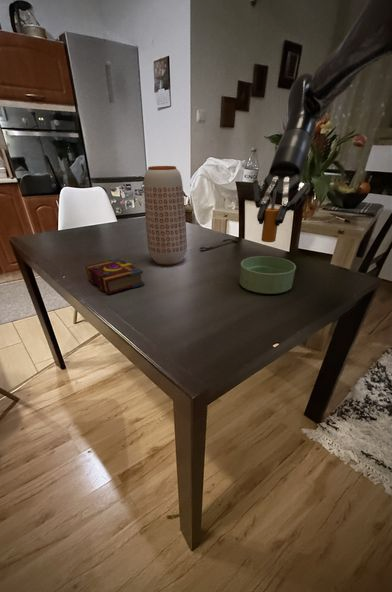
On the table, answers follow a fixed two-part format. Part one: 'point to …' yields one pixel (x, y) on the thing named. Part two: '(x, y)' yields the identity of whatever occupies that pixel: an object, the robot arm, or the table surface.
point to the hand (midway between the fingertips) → (268, 222)
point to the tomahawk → (220, 244)
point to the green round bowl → (267, 274)
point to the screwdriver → (270, 222)
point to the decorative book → (114, 275)
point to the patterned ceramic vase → (165, 215)
